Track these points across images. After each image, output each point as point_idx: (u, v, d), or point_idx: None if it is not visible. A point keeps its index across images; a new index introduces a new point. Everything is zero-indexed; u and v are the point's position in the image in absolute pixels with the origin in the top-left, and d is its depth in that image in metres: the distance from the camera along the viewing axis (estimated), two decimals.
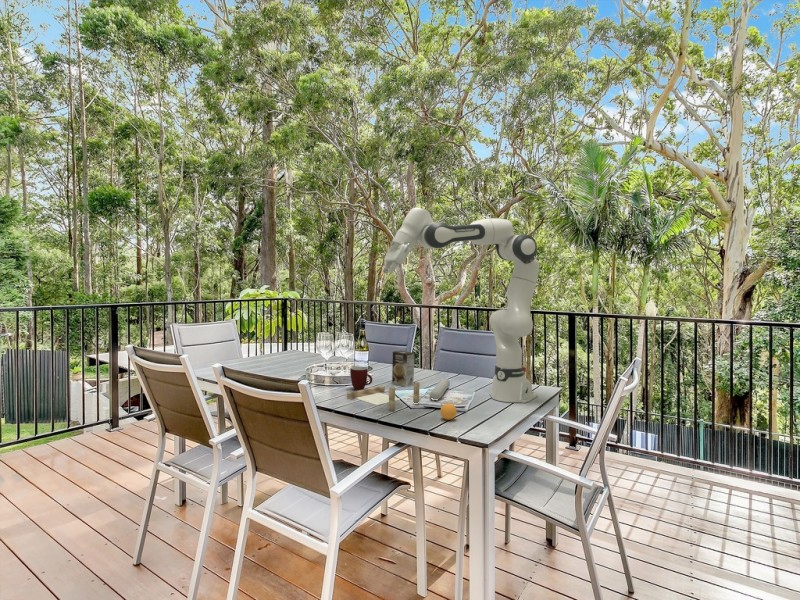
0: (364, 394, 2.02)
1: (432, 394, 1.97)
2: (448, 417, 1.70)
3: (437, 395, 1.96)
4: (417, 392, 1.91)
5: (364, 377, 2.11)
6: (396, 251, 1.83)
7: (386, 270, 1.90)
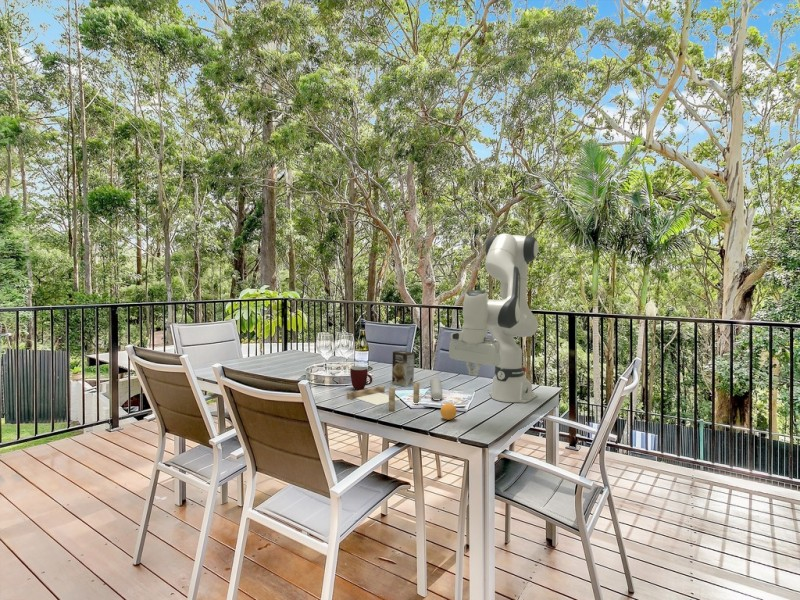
0: (364, 394, 2.02)
1: (435, 394, 1.97)
2: (448, 417, 1.70)
3: (440, 395, 1.97)
4: (417, 392, 1.91)
5: (364, 377, 2.11)
6: (479, 351, 1.60)
7: None
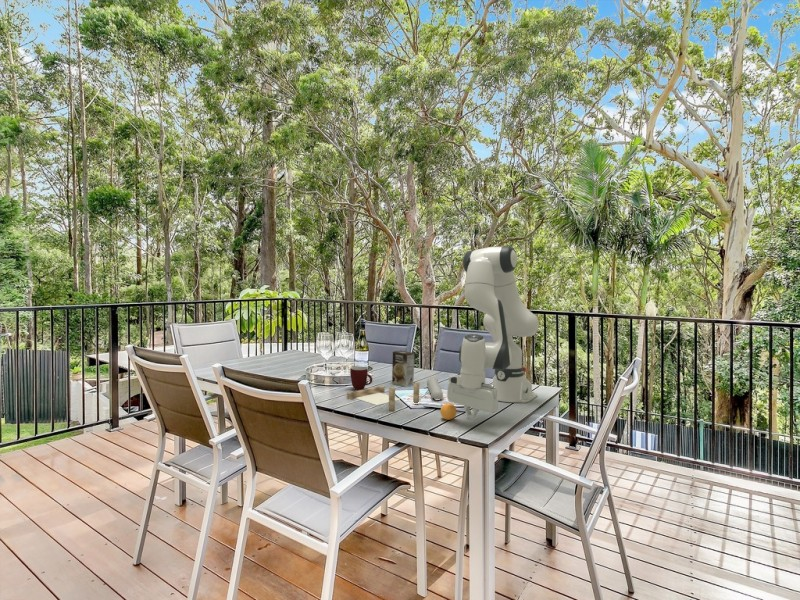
0: (364, 394, 2.02)
1: (436, 394, 1.97)
2: (448, 417, 1.70)
3: (441, 395, 1.97)
4: (417, 392, 1.91)
5: (364, 377, 2.11)
6: (476, 397, 1.60)
7: None
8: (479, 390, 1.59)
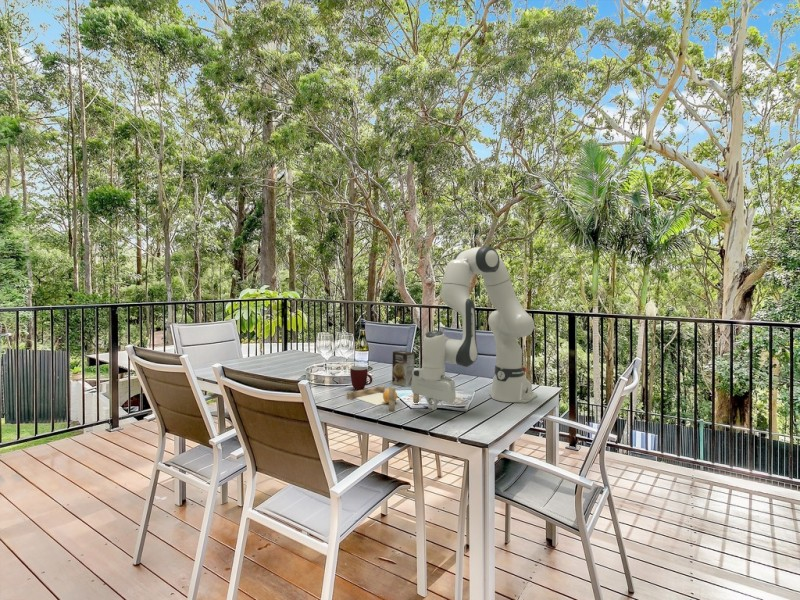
0: (364, 394, 2.02)
1: None
2: (383, 393, 1.92)
3: None
4: None
5: (364, 377, 2.11)
6: (436, 388, 1.74)
7: None
8: (438, 382, 1.73)
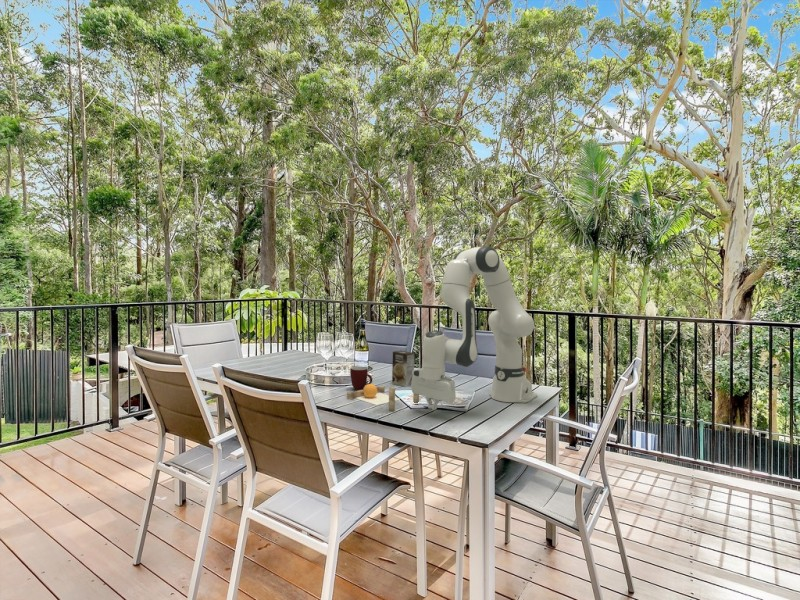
0: None
1: None
2: (369, 390, 1.97)
3: None
4: None
5: (364, 377, 2.11)
6: (436, 388, 1.74)
7: None
8: (438, 382, 1.73)
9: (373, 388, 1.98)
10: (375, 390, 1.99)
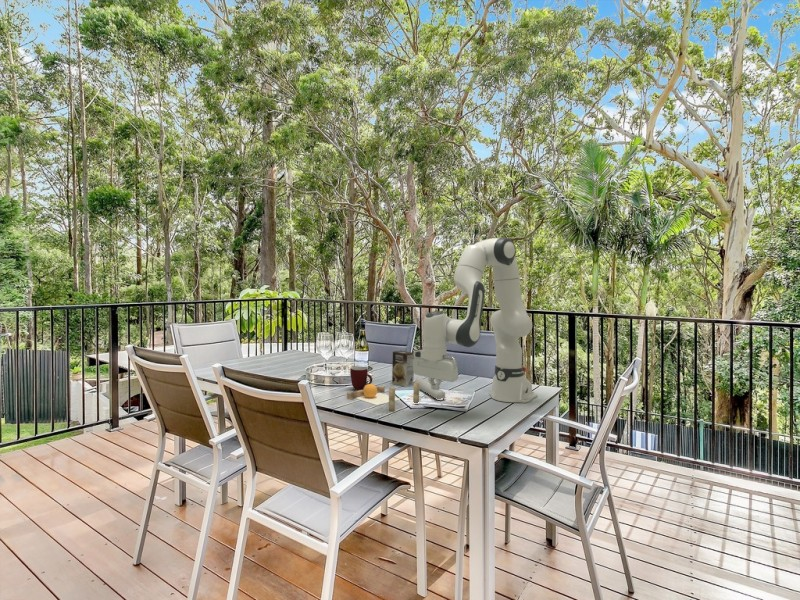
0: None
1: (439, 394, 1.97)
2: (369, 390, 1.97)
3: (444, 394, 1.98)
4: (417, 392, 1.91)
5: (364, 377, 2.11)
6: (438, 368, 1.74)
7: None
8: (440, 362, 1.72)
9: (373, 388, 1.98)
10: (375, 390, 1.99)
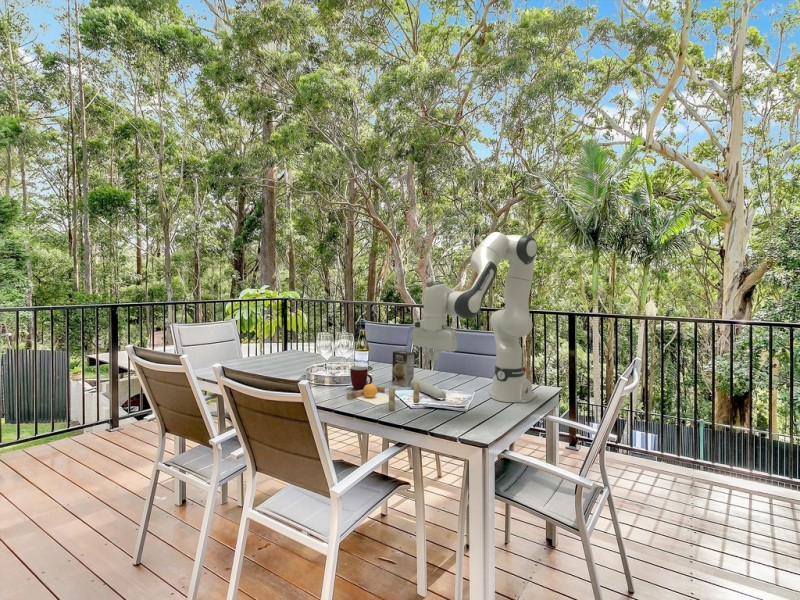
0: None
1: (441, 394, 1.97)
2: (369, 390, 1.97)
3: (445, 394, 1.98)
4: (417, 392, 1.91)
5: (364, 377, 2.11)
6: (437, 338, 1.73)
7: None
8: (440, 332, 1.72)
9: (373, 388, 1.98)
10: (375, 390, 1.99)
